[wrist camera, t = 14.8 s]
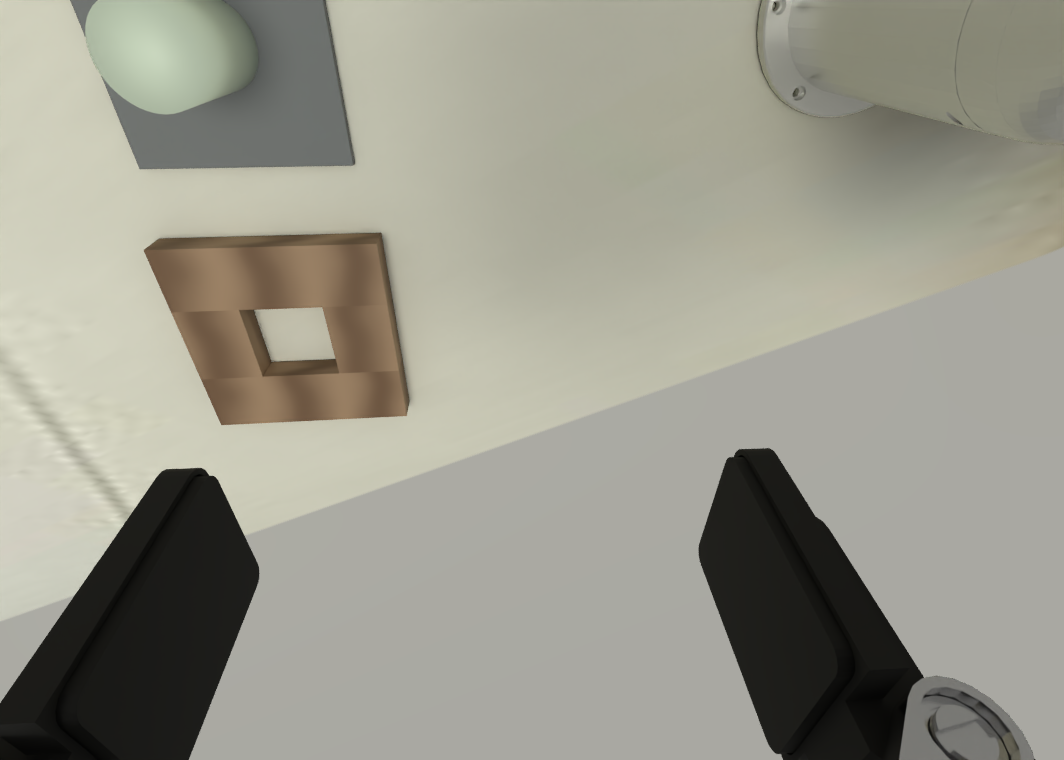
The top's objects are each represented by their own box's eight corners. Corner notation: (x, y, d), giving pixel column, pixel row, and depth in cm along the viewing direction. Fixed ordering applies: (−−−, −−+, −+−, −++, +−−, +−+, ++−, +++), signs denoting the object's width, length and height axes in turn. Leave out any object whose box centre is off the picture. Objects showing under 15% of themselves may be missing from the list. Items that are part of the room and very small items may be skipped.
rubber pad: (304, -109, 29) (302, -111, 28) (354, 163, 37) (353, 165, 36) (30, -114, 28) (22, -116, 27) (144, 166, 36) (139, 169, 35)
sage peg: (243, -7, 30) (180, -8, 24) (268, 91, 33) (218, 113, 27) (153, -7, 30) (63, -9, 24) (186, 92, 33) (114, 114, 27)
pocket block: (381, 232, 40) (376, 243, 38) (409, 400, 49) (406, 415, 47) (159, 238, 39) (143, 250, 37) (230, 409, 48) (221, 425, 46)
